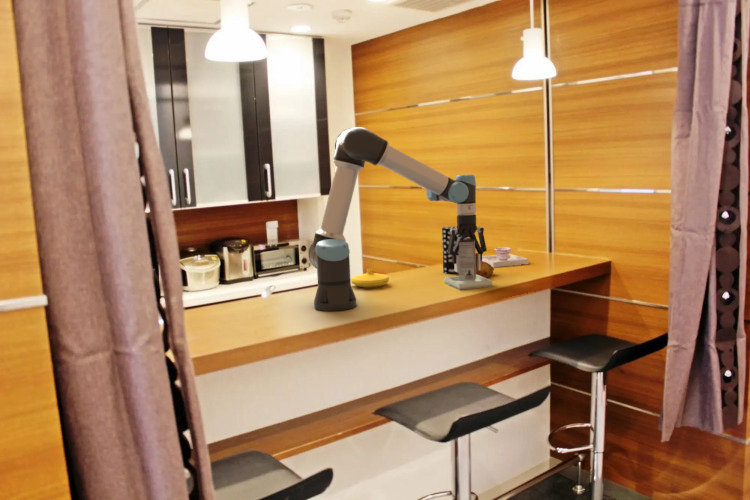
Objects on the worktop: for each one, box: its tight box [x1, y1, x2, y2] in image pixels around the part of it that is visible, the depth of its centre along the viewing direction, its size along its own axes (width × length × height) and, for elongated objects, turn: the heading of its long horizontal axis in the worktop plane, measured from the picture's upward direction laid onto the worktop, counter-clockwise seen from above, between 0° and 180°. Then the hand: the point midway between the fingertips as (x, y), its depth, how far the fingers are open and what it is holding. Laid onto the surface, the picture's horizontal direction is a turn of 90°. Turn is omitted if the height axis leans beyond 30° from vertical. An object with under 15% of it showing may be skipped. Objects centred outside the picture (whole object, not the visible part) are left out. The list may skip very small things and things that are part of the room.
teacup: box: [491, 246, 516, 262], centre depth 295 cm, size 12×12×6 cm
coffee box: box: [458, 237, 476, 281], centre depth 247 cm, size 9×6×16 cm
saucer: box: [482, 253, 530, 268], centre depth 294 cm, size 18×18×2 cm
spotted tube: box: [441, 226, 459, 275], centre depth 274 cm, size 8×8×20 cm
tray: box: [444, 274, 493, 291], centre depth 248 cm, size 14×15×2 cm
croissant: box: [458, 261, 495, 278], centre depth 266 cm, size 14×16×8 cm
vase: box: [350, 268, 390, 288], centre depth 254 cm, size 16×16×7 cm
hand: (467, 270), depth 247 cm, fingers closed on coffee box, 9 cm apart
